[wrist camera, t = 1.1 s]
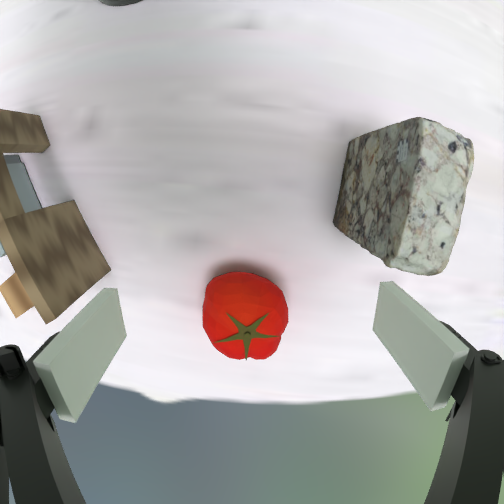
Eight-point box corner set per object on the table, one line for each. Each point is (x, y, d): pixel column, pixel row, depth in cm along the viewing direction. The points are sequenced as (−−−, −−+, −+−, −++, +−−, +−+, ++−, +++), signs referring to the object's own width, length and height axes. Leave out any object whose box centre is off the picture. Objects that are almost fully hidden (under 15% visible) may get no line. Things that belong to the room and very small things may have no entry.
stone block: (338, 134, 37) (418, 109, 18) (383, 144, 37) (479, 135, 18) (326, 228, 40) (393, 280, 21) (371, 234, 41) (455, 284, 22)
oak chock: (34, 304, 42) (16, 318, 37) (18, 275, 41) (-2, 287, 35) (61, 285, 42) (43, 299, 36) (44, 254, 40) (23, 265, 34)
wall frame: (31, 123, 34) (-38, 116, 19) (39, 115, 34) (-30, 105, 19) (101, 275, 41) (46, 324, 26) (111, 269, 41) (56, 318, 26)
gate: (-1, 175, 36) (-49, 182, 24) (19, 153, 35) (-31, 154, 23) (30, 250, 39) (-16, 273, 28) (52, 231, 39) (4, 252, 27)
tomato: (239, 348, 45) (238, 391, 35) (188, 285, 42) (174, 319, 32) (301, 312, 44) (316, 350, 34) (254, 242, 41) (259, 266, 31)
